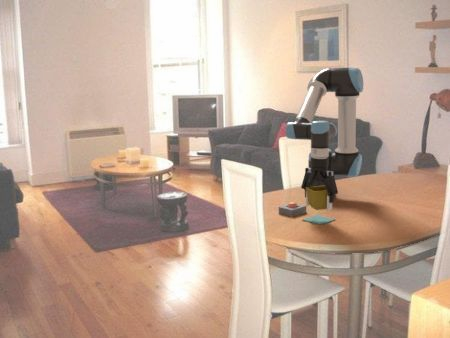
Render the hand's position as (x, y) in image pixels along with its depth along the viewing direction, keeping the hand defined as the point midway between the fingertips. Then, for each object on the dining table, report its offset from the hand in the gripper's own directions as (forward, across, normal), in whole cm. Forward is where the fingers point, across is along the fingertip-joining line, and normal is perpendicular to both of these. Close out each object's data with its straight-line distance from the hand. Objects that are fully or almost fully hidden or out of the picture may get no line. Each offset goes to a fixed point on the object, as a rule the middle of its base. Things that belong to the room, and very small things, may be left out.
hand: (318, 207), depth 231 cm
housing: (+6, -16, +1) cm, 17 cm away
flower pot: (+1, 0, 0) cm, 1 cm away
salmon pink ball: (+5, -16, +1) cm, 17 cm away
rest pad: (+6, 0, 0) cm, 6 cm away
